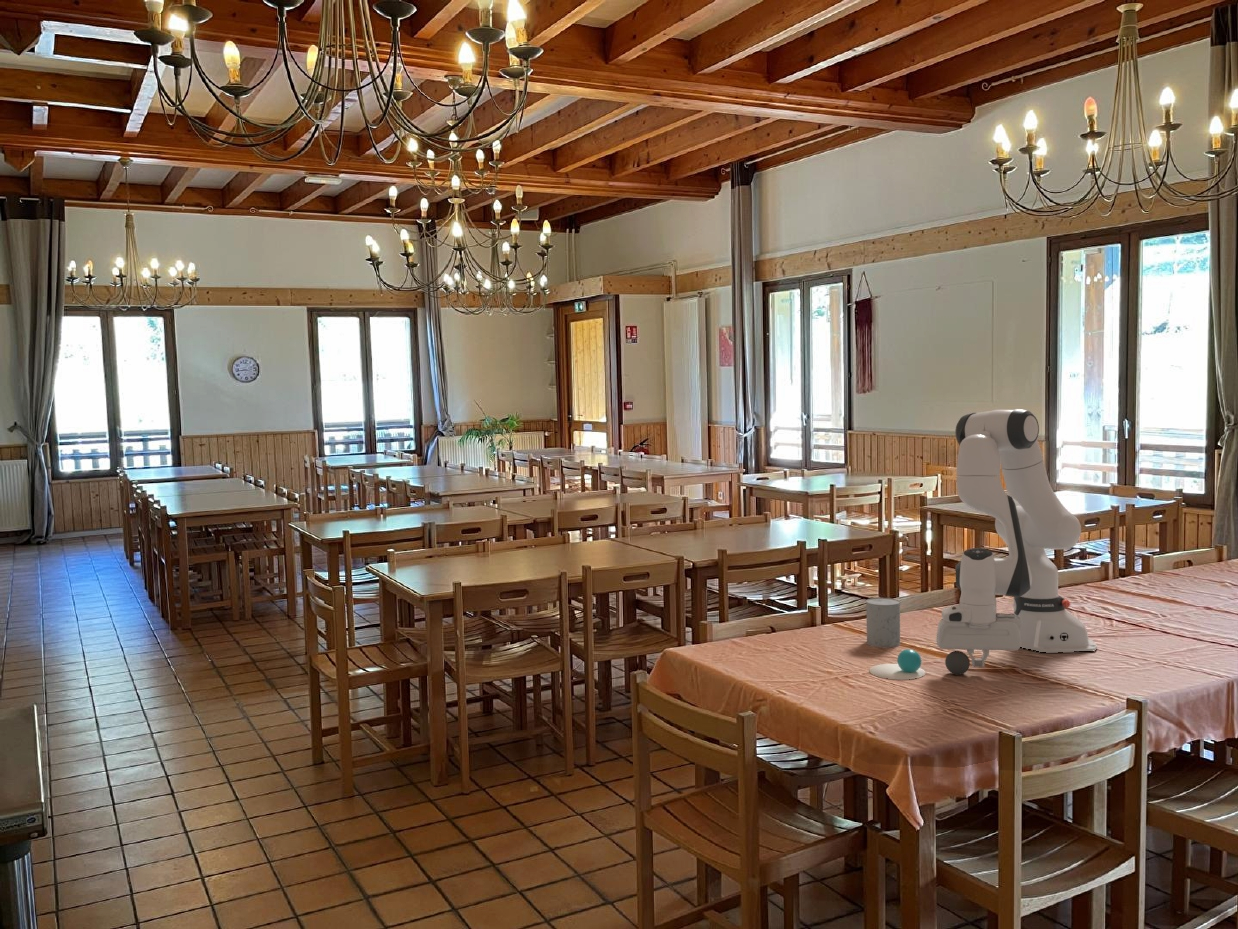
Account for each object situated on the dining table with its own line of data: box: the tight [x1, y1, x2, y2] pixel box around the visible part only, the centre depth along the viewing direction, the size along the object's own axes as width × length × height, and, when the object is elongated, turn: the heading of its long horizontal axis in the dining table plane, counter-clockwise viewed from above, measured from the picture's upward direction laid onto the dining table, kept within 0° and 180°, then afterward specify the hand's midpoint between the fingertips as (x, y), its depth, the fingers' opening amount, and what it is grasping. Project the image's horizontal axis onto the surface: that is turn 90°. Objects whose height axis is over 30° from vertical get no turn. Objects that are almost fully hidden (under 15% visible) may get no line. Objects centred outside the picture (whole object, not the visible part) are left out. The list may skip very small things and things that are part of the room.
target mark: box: [869, 663, 926, 681], centre depth 260 cm, size 14×14×1 cm
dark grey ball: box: [944, 650, 971, 676], centre depth 257 cm, size 6×6×6 cm
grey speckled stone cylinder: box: [865, 597, 901, 649], centre depth 289 cm, size 10×10×12 cm
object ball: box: [896, 648, 922, 673], centre depth 260 cm, size 6×6×6 cm
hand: (978, 666), depth 256 cm, fingers closed
